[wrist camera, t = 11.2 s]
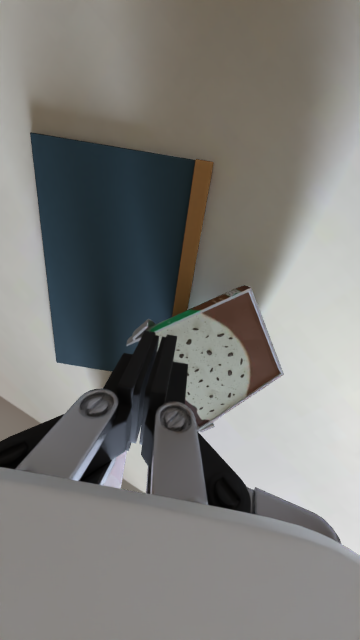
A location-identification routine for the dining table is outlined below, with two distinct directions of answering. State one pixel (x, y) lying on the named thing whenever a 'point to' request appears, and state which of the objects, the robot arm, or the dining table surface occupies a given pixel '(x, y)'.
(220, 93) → the dining table surface
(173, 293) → the dark blue notebook
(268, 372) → the food container
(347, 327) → the dining table surface
